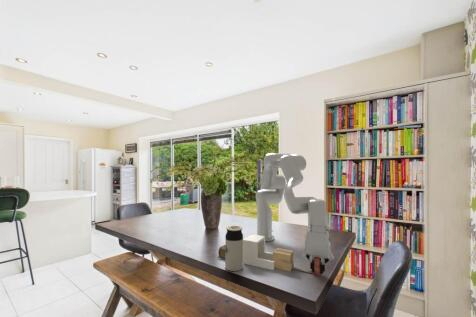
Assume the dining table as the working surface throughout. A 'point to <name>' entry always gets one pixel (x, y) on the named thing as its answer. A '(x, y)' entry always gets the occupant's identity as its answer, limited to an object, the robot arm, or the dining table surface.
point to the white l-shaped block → (257, 252)
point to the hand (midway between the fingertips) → (317, 271)
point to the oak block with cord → (292, 261)
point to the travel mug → (234, 248)
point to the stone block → (222, 251)
